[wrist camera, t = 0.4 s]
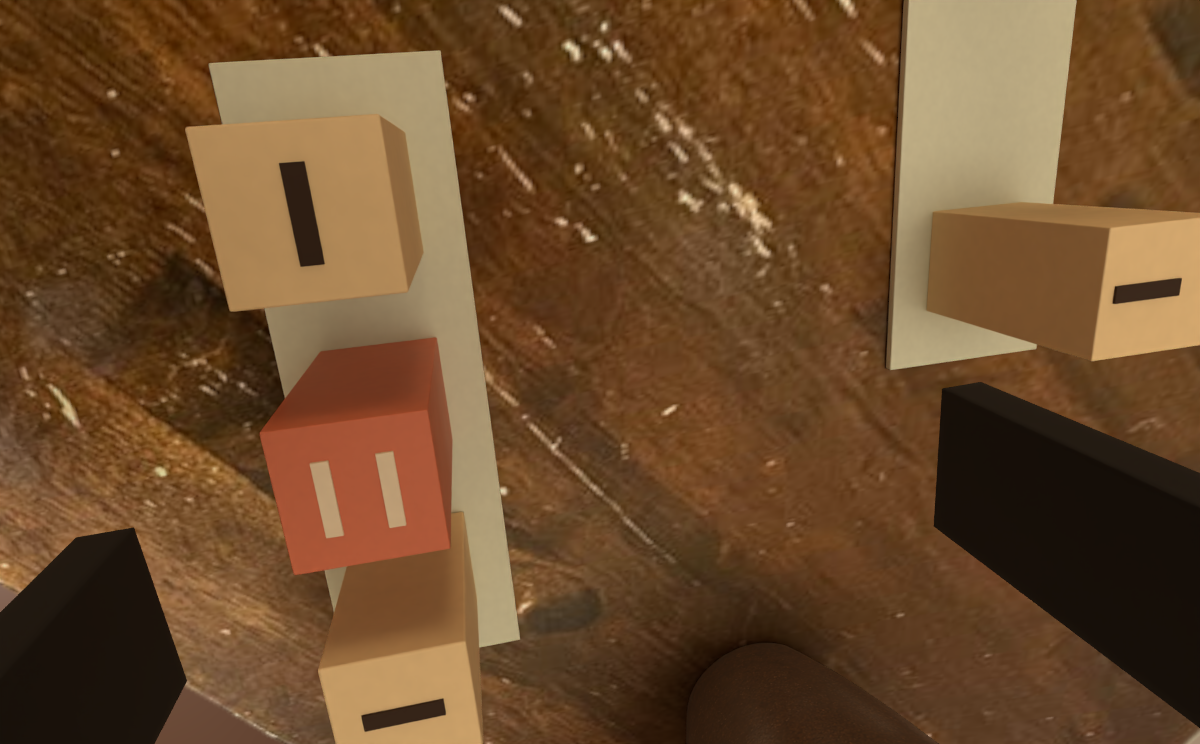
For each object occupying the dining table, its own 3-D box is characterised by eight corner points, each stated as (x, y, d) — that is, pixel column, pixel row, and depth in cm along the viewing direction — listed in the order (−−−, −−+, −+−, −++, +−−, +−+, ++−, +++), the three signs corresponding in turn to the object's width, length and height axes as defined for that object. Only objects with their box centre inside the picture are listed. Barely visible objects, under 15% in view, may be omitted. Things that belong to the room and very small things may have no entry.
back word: (917, -300, 26) (1165, -553, 17) (1102, -295, 27) (1424, -525, 18) (885, 368, 33) (1042, 441, 24) (1030, 347, 35) (1229, 409, 26)
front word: (211, 64, 24) (68, 5, 15) (440, 52, 26) (431, -10, 17) (348, 667, 32) (307, 860, 23) (519, 634, 33) (541, 804, 25)
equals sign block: (319, 351, 27) (257, 434, 19) (436, 336, 28) (427, 410, 20) (341, 456, 29) (292, 578, 20) (452, 440, 30) (450, 551, 21)
